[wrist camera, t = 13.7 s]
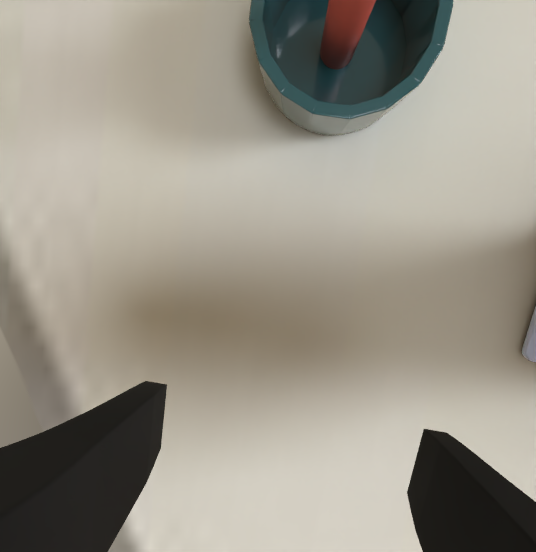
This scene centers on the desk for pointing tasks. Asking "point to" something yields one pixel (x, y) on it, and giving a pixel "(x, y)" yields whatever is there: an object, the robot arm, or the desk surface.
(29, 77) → the desk surface
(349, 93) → the cup
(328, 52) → the red cylinder rod
